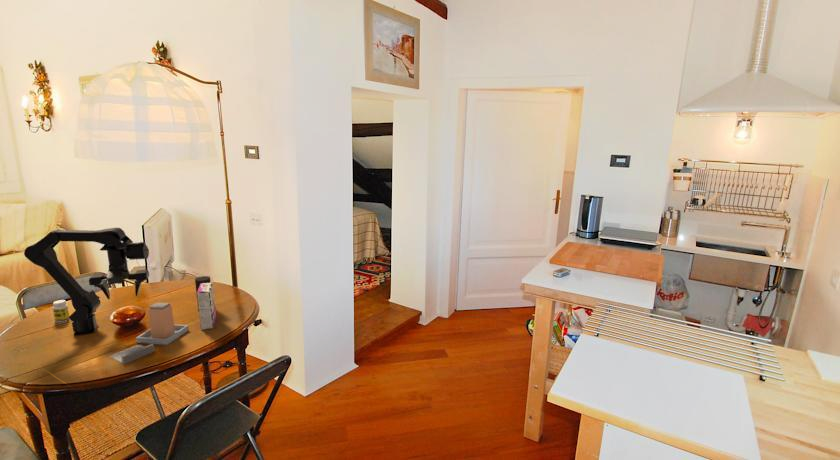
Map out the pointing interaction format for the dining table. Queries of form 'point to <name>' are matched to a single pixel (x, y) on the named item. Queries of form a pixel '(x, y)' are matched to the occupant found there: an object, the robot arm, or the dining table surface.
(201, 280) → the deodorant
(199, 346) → the dining table surface
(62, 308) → the supplement bottle
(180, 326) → the tray
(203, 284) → the candy bar box
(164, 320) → the tall pink carton
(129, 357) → the plate
